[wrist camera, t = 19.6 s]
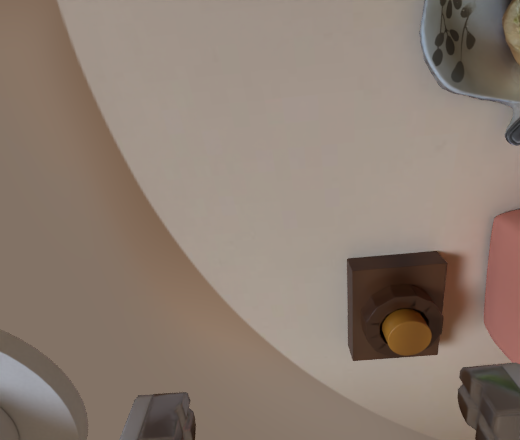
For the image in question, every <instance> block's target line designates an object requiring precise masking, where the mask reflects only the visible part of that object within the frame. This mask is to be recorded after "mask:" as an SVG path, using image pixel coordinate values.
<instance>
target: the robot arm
mask: <svg viewBox="0 0 520 440" xmlns="http://www.w3.org/2000/svg"><path fill="white" fill-rule="evenodd" d="M459 378H460V379H461V381H462V383H463V385H462V386H461V387H460V388H459V389H458V402H459V407H460V410H461V413H462V415H463V417H464V419H465V421H466V423H467V424H468V425H469V426H471V427H472V428H474V429H475V430H476V438H475V439H476V440H520V364H518V363H516V362H515V363H505V364H498V365H497V364H493V365H483V366H473V367H463V368H462V369H461V371H460V377H459ZM189 404H190V399H189V395H188V393H186V392H183V393H166V394H153V395H138V397H137V398H136V399H135V400H134V403H133V406H132V408H131V411H130V413H129V416H128V419H127V421H126V424H125V427H124V429H123V432H122V435H121V437H120V440H195V426H196V424H195V417H194V413H193V411H192V410H191V409H189ZM0 440H19V434H18V431H17V428H16V426H15V424H14V422H13V421H12V419H11V418H10V417H9V416H8V414H7V413H6V412H5V411H4V410H3V409H2V408H1V407H0Z"/></svg>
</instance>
